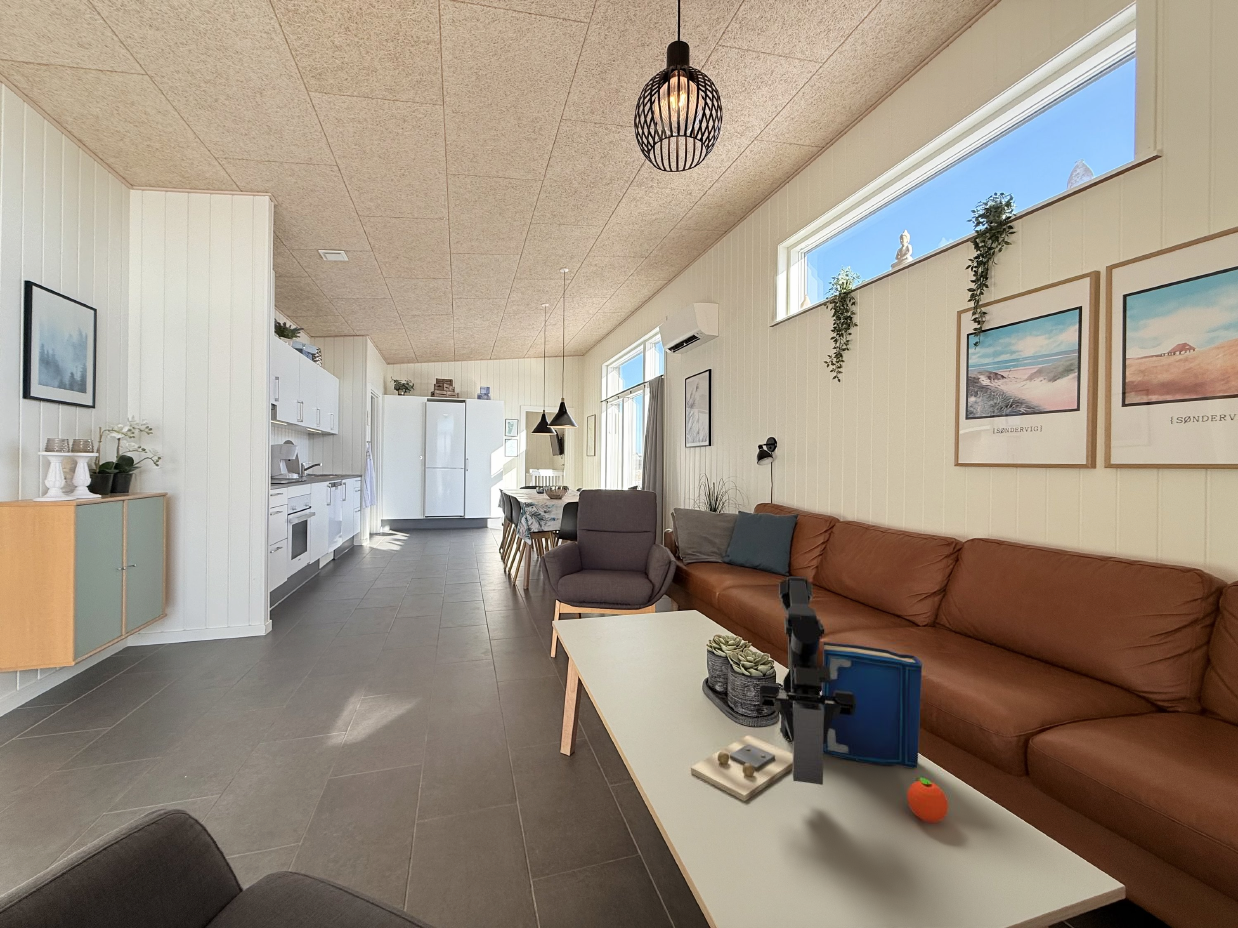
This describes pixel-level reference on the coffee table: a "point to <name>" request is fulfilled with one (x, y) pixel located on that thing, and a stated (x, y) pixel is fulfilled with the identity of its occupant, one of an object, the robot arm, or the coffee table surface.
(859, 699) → the book
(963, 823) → the coffee table surface
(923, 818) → the clementine
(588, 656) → the coffee table surface
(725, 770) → the board
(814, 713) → the grey block
